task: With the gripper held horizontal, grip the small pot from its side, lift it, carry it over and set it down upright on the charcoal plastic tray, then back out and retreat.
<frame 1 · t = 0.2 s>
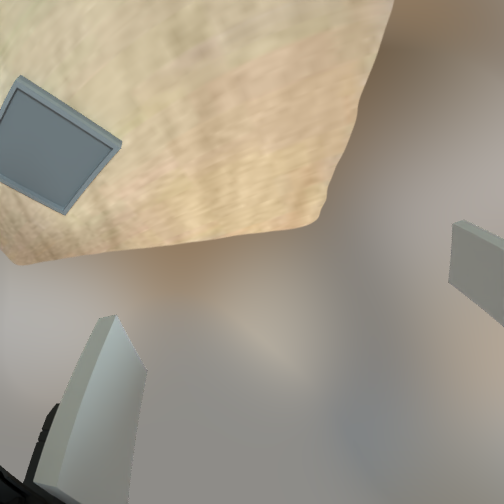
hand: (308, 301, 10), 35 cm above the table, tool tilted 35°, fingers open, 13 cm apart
charcoal tray: (42, 149, 35), on the table
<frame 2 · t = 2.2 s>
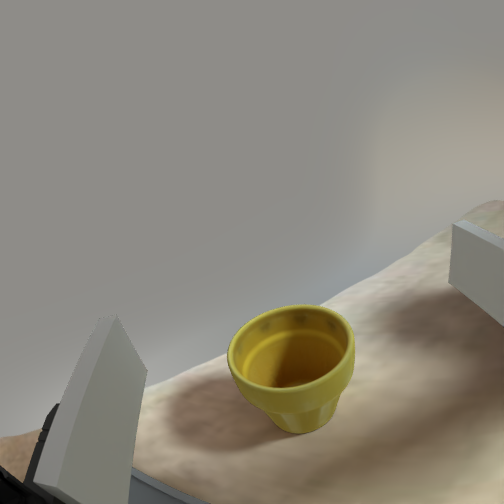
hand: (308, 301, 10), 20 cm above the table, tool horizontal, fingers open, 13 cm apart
plant pot: (303, 409, 27), on the table
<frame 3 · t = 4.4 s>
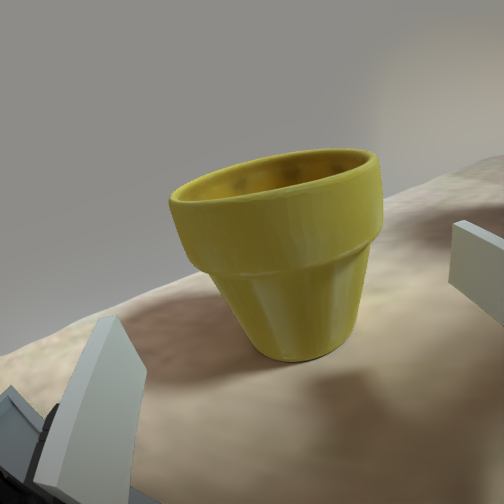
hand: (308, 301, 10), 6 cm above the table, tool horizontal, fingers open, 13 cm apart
plant pot: (301, 328, 18), on the table
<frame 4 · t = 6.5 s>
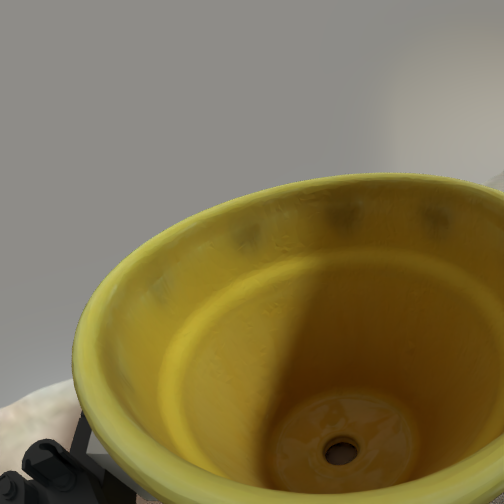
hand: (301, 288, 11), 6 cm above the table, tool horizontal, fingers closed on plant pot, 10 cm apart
plant pot: (343, 460, 9), on the table, touching gripper
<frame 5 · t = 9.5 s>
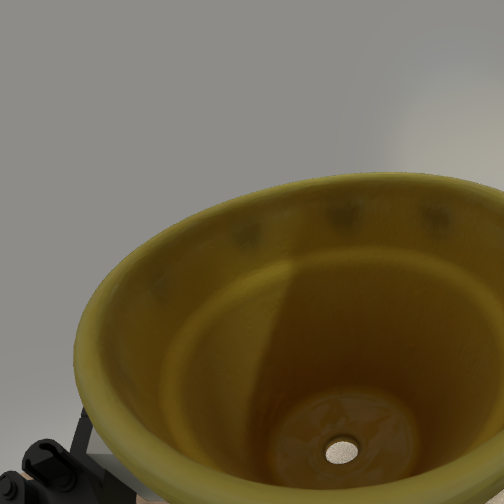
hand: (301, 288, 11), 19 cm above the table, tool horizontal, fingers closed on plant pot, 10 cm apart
plant pot: (344, 459, 9), point 13 cm above the table, touching gripper
when the fingers open (8 cm above the table, at t = 12.6 s): plant pot stays where it is, resting on charcoal tray.
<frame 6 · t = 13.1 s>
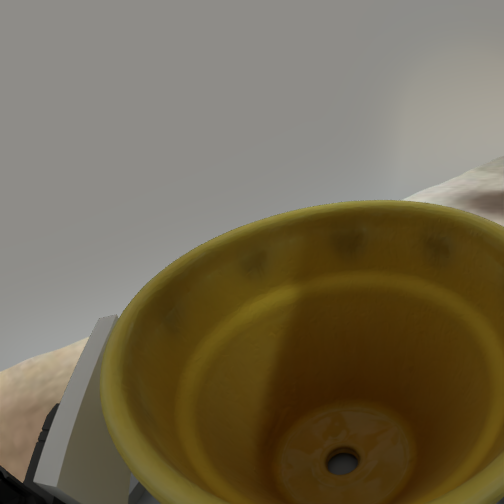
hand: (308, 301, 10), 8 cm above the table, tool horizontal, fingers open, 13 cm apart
charcoal tray: (342, 474, 10), on the table
plant pot: (344, 469, 10), point 1 cm above the table, touching charcoal tray
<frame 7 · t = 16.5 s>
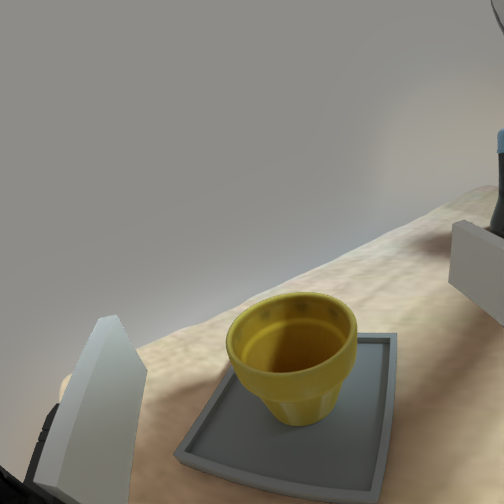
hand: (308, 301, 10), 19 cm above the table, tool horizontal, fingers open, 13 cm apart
charcoal tray: (302, 406, 27), on the table
plant pot: (302, 402, 26), point 1 cm above the table, touching charcoal tray
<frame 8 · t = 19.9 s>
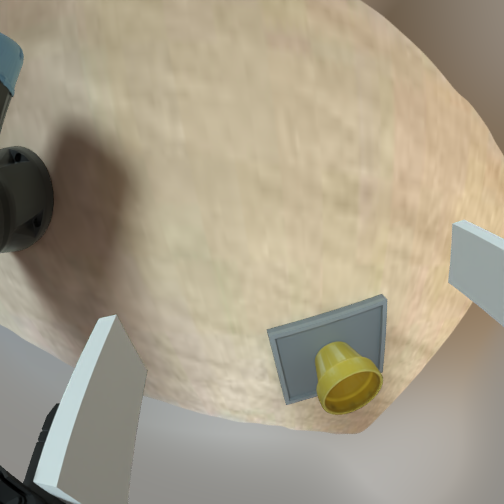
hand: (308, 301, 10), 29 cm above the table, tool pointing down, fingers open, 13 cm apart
charcoal tray: (331, 352, 49), on the table
plant pot: (332, 354, 48), point 1 cm above the table, touching charcoal tray
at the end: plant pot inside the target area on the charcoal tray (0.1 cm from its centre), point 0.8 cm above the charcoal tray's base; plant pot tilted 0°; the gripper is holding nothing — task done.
